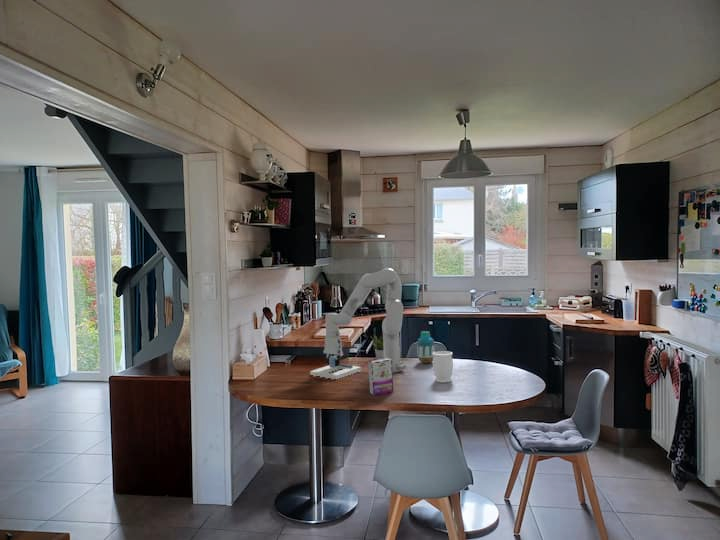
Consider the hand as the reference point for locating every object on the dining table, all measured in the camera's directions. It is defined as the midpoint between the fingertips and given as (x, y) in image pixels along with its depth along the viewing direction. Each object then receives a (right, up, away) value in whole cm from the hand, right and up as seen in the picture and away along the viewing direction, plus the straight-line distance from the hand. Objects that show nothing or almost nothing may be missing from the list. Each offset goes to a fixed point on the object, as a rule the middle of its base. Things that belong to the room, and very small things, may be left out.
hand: (333, 364), depth 288 cm
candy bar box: (+26, -6, -42) cm, 49 cm away
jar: (+60, -4, -25) cm, 65 cm away
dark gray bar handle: (+5, -2, +6) cm, 8 cm away
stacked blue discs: (0, -1, 0) cm, 1 cm away
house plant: (+28, -3, +34) cm, 44 cm away
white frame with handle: (+1, -5, +1) cm, 5 cm away
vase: (+56, -2, +17) cm, 59 cm away
